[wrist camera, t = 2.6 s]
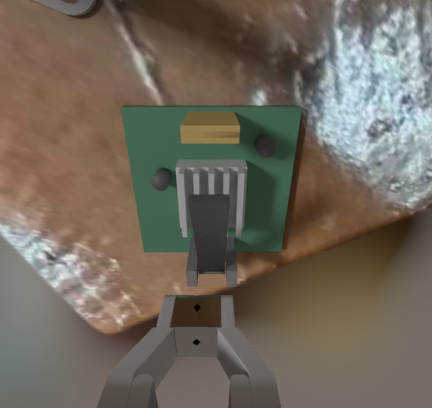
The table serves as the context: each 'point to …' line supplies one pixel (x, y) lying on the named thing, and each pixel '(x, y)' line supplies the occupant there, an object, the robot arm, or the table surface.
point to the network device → (70, 6)
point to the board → (212, 174)
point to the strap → (210, 230)
